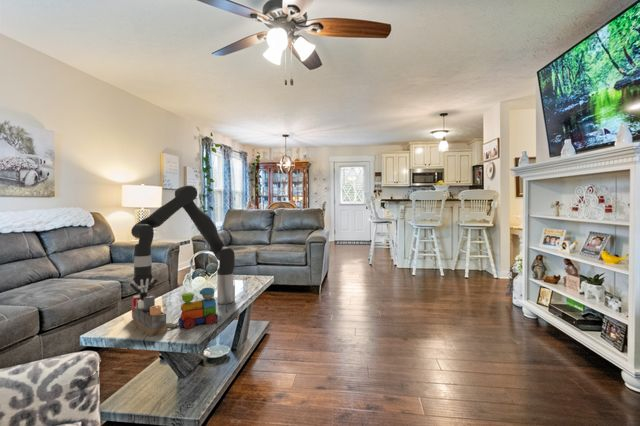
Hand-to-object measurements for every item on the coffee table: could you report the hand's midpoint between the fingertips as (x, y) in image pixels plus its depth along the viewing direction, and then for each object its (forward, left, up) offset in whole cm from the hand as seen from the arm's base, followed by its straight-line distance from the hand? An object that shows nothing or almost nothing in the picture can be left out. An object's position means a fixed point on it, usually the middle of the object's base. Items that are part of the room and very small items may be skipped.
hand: (143, 299), depth 155 cm
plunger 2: (0, +15, -7) cm, 17 cm away
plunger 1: (0, 0, -7) cm, 7 cm away
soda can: (-1, -9, -12) cm, 15 cm away
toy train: (-15, +17, -13) cm, 26 cm away
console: (0, +8, -12) cm, 14 cm away
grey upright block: (0, +8, -4) cm, 8 cm away
